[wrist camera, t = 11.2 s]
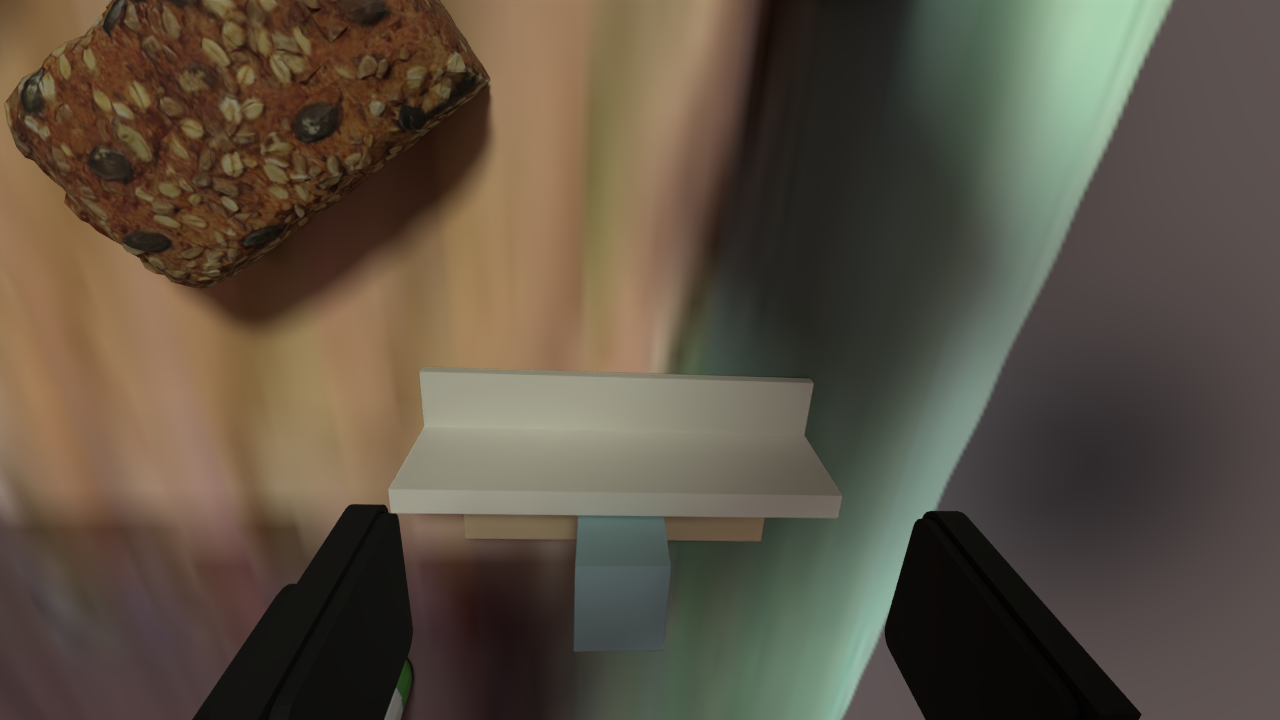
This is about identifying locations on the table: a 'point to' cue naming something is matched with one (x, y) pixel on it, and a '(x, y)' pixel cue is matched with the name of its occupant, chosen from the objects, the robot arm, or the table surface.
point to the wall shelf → (613, 452)
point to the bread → (234, 118)
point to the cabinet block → (621, 583)
